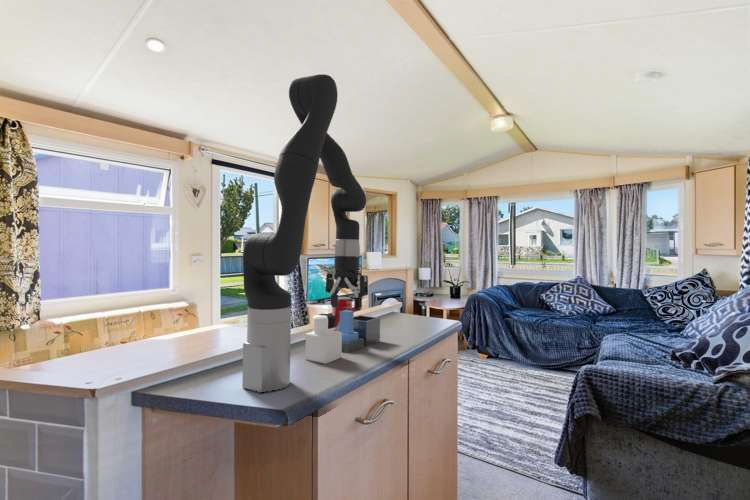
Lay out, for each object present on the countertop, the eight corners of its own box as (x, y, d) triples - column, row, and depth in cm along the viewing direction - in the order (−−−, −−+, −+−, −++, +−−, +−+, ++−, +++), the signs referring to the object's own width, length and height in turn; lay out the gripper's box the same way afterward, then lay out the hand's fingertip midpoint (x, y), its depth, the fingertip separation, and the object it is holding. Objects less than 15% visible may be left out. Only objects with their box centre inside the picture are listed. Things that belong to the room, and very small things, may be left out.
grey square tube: (365, 346, 119) (366, 321, 118) (345, 342, 123) (345, 318, 123) (379, 341, 125) (380, 318, 125) (359, 337, 130) (359, 315, 129)
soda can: (329, 329, 141) (329, 296, 141) (347, 328, 144) (347, 296, 144) (335, 333, 135) (336, 299, 134) (354, 332, 138) (355, 298, 137)
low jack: (348, 352, 111) (348, 344, 111) (326, 348, 115) (326, 340, 115) (364, 346, 118) (364, 338, 118) (343, 342, 122) (343, 335, 122)
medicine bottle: (321, 353, 110) (322, 311, 110) (341, 357, 106) (342, 314, 106) (304, 359, 104) (305, 315, 104) (325, 364, 100) (326, 318, 100)
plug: (347, 347, 113) (348, 313, 113) (334, 344, 116) (334, 311, 116) (358, 343, 117) (358, 311, 117) (344, 341, 120) (345, 309, 120)
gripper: (320, 254, 117) (319, 307, 117) (359, 255, 109) (358, 312, 109) (336, 254, 123) (335, 305, 123) (373, 255, 116) (372, 309, 116)
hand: (345, 308), depth 116 cm, fingers open, 8 cm apart
